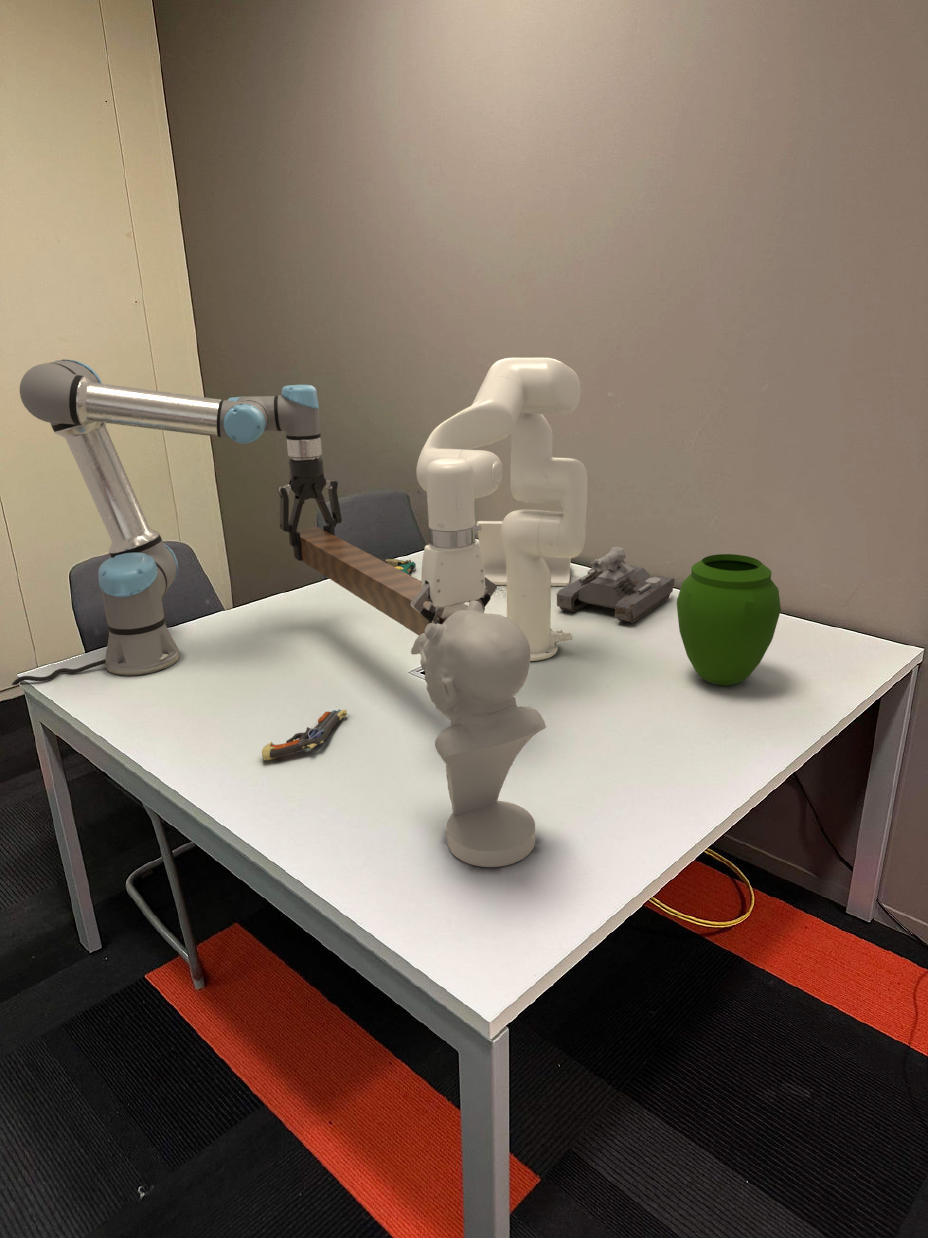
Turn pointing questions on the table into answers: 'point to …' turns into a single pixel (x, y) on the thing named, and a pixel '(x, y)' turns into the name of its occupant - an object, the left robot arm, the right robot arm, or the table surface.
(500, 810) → the bust sculpture
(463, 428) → the right robot arm
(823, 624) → the table surface
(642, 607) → the toy
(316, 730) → the toy gun
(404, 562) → the spray gun
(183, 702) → the table surface
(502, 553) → the tablet stand
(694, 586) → the vase
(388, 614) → the beam
